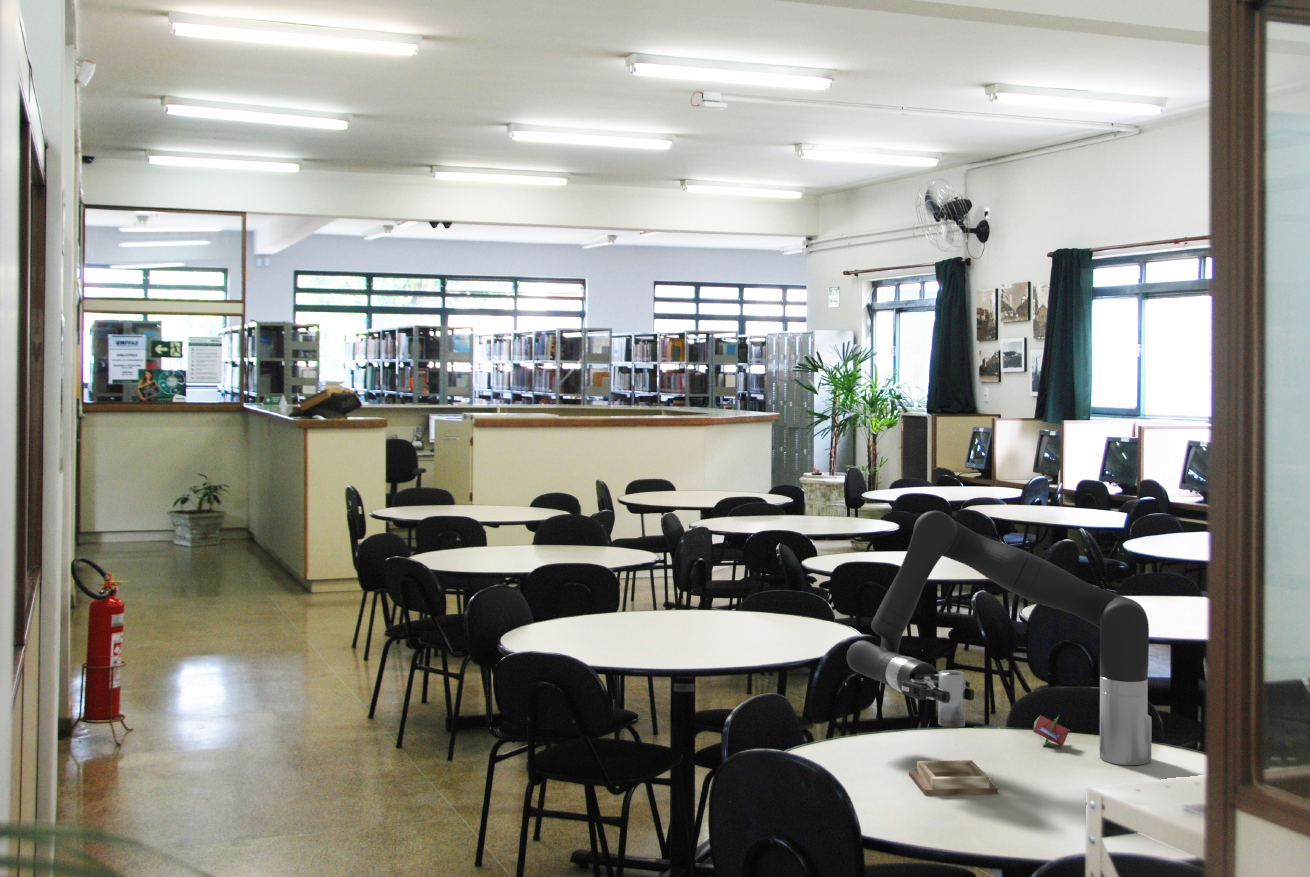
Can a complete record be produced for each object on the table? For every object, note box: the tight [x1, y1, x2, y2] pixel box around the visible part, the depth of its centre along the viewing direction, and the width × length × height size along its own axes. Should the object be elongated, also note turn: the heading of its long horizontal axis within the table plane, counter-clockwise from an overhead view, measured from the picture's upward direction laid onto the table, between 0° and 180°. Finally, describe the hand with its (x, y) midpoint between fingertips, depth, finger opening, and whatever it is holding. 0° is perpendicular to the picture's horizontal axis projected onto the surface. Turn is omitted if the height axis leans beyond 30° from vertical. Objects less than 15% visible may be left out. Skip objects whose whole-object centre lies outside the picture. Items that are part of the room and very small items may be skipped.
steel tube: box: [937, 669, 966, 729], centre depth 229 cm, size 5×5×10 cm
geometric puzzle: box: [1033, 714, 1071, 748], centre depth 255 cm, size 7×7×8 cm
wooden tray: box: [908, 759, 999, 796], centre depth 229 cm, size 14×12×3 cm
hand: (959, 696), depth 226 cm, fingers closed on steel tube, 5 cm apart
